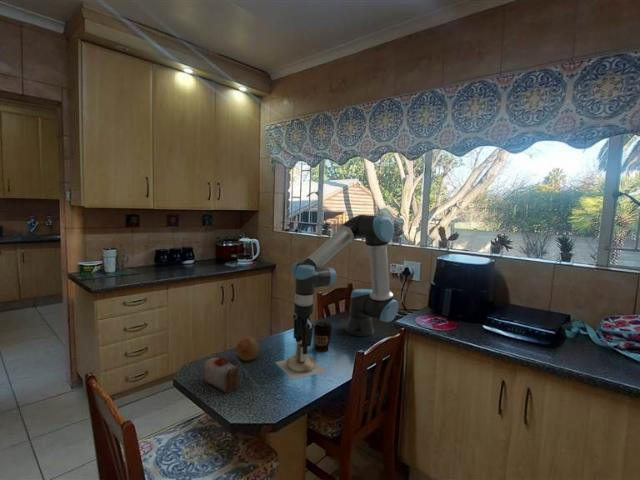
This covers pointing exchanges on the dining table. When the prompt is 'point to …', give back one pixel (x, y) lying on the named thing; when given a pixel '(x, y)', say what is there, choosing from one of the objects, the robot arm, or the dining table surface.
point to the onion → (248, 348)
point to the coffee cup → (322, 336)
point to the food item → (221, 374)
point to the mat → (299, 374)
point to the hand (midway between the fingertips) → (301, 358)
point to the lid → (295, 362)
